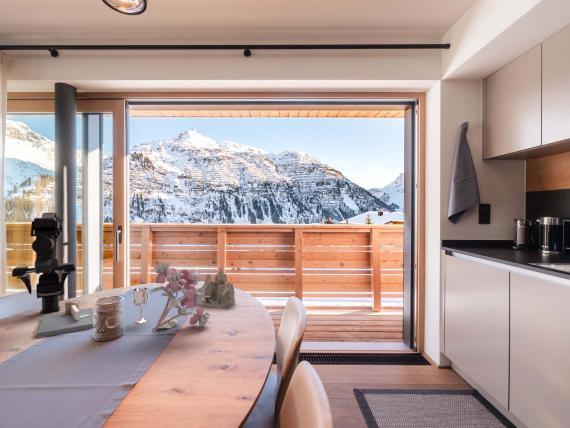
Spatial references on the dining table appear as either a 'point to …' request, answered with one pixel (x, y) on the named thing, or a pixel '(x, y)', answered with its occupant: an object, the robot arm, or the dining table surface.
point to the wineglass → (140, 301)
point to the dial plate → (65, 323)
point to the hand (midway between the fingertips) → (46, 292)
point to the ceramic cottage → (218, 291)
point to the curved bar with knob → (73, 309)
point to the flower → (188, 301)
